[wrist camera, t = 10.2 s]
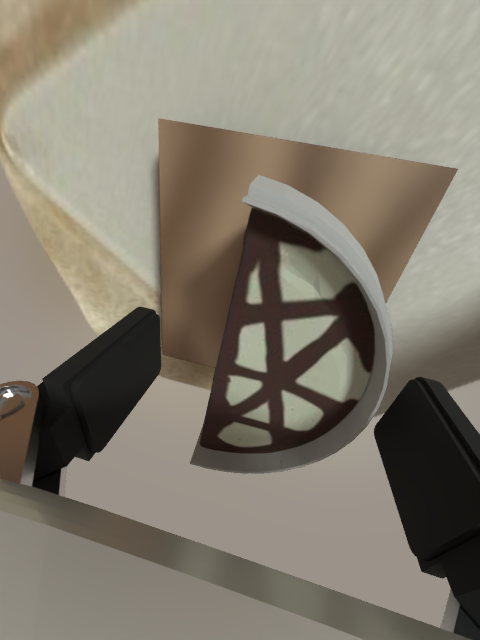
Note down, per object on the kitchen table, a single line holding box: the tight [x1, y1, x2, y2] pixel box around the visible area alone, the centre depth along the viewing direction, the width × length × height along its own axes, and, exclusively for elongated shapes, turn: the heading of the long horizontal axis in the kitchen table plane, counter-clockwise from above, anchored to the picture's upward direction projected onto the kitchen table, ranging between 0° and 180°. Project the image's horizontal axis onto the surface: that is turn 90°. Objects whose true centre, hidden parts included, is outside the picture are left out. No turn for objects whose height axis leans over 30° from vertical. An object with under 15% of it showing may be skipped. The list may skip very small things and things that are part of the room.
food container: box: [190, 175, 393, 473], centre depth 12 cm, size 12×6×10 cm, turn 168°
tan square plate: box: [158, 118, 458, 368], centre depth 18 cm, size 16×17×3 cm
